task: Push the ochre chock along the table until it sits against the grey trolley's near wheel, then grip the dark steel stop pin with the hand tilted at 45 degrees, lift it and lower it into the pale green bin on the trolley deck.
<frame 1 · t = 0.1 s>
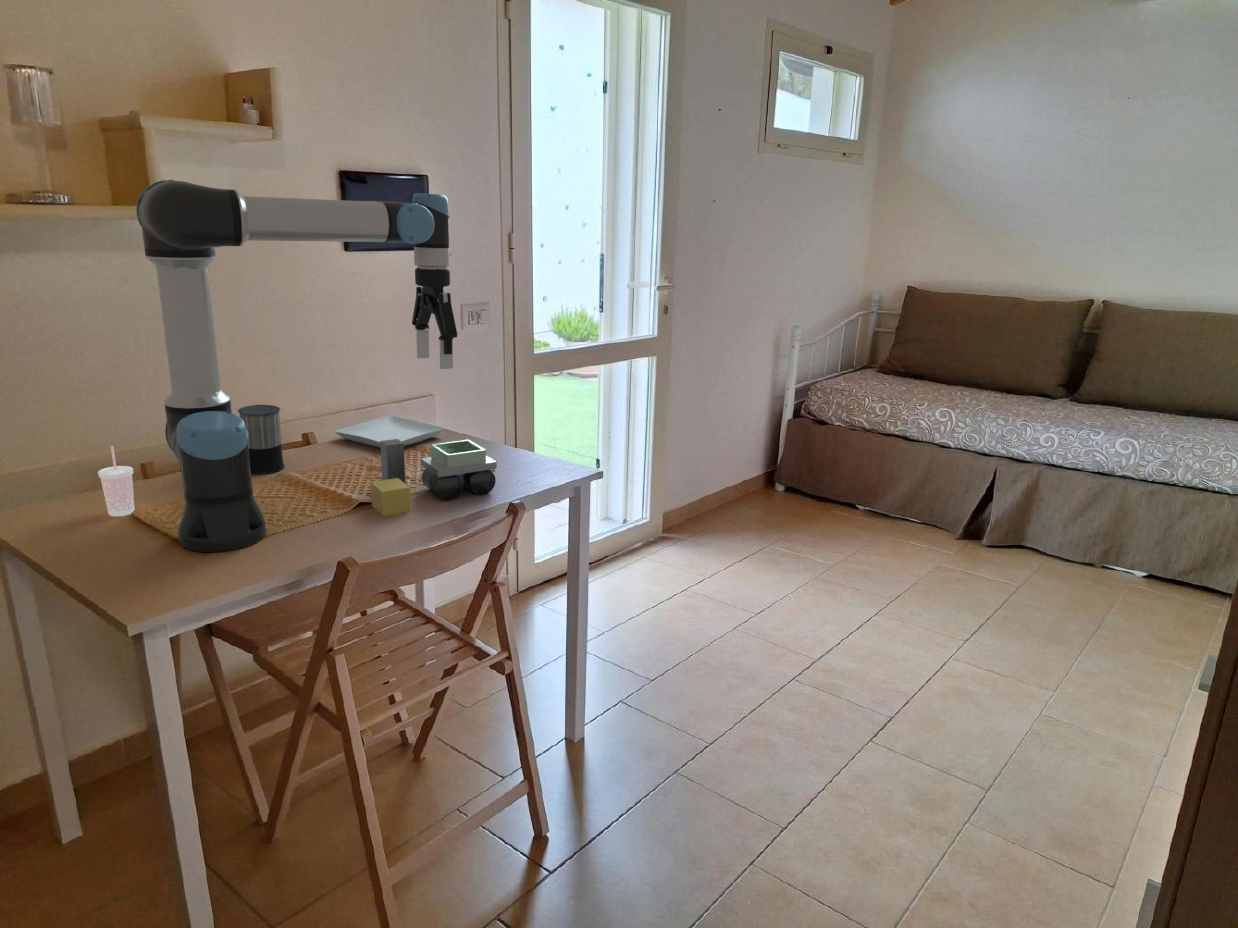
hand: (434, 363, 187), 28 cm above the table, tool pointing down, fingers open, 13 cm apart
stop pin: (393, 488, 189), on the table
beverage cup: (121, 513, 168), on the table
salad plate: (391, 440, 227), on the table
trolley: (459, 491, 188), on the table
milk frother: (245, 471, 196), on the table
chock: (391, 508, 177), on the table
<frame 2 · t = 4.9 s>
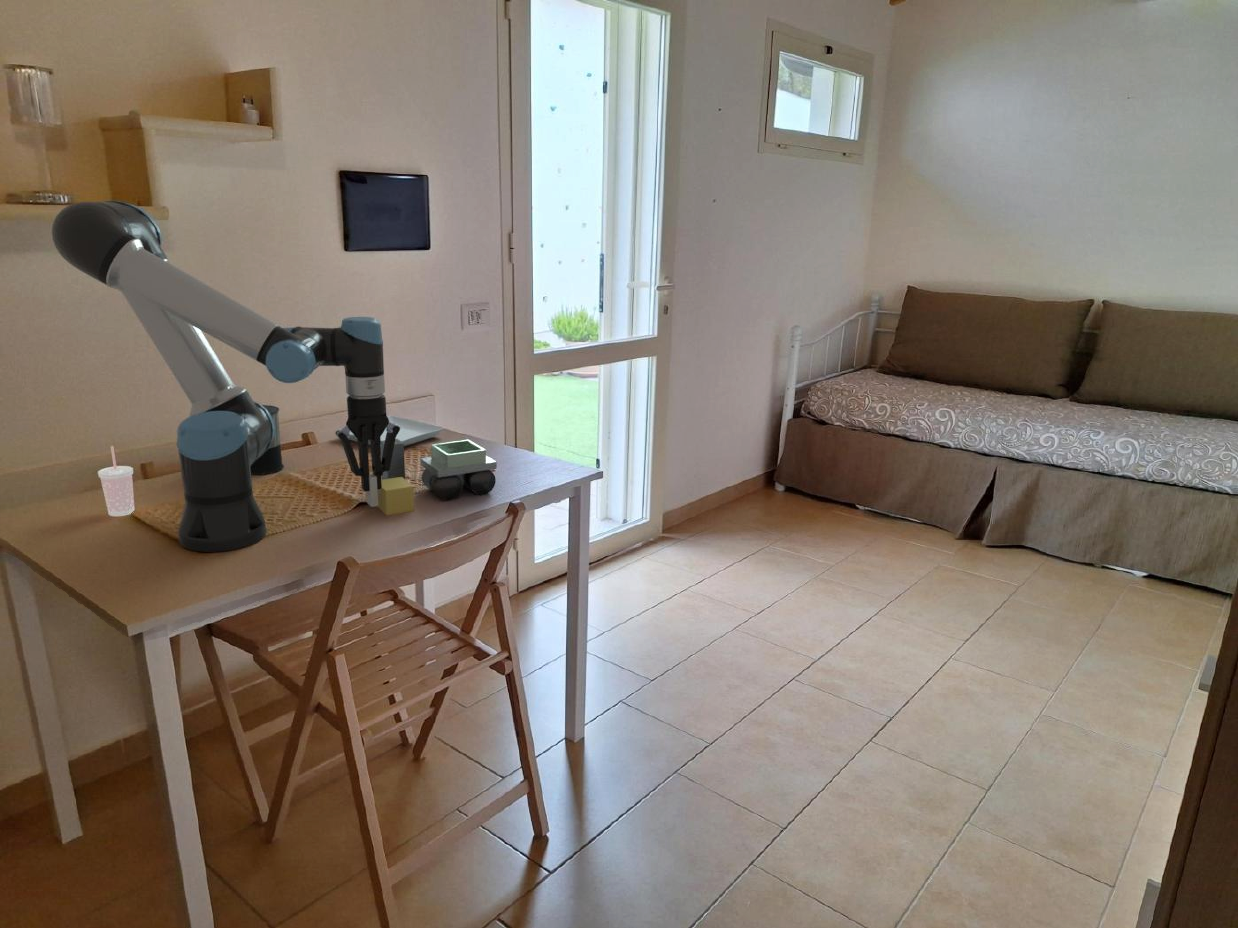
hand: (372, 504, 174), 2 cm above the table, tool pointing down, fingers closed
chock: (394, 507, 177), on the table, touching gripper
everything else where it was.
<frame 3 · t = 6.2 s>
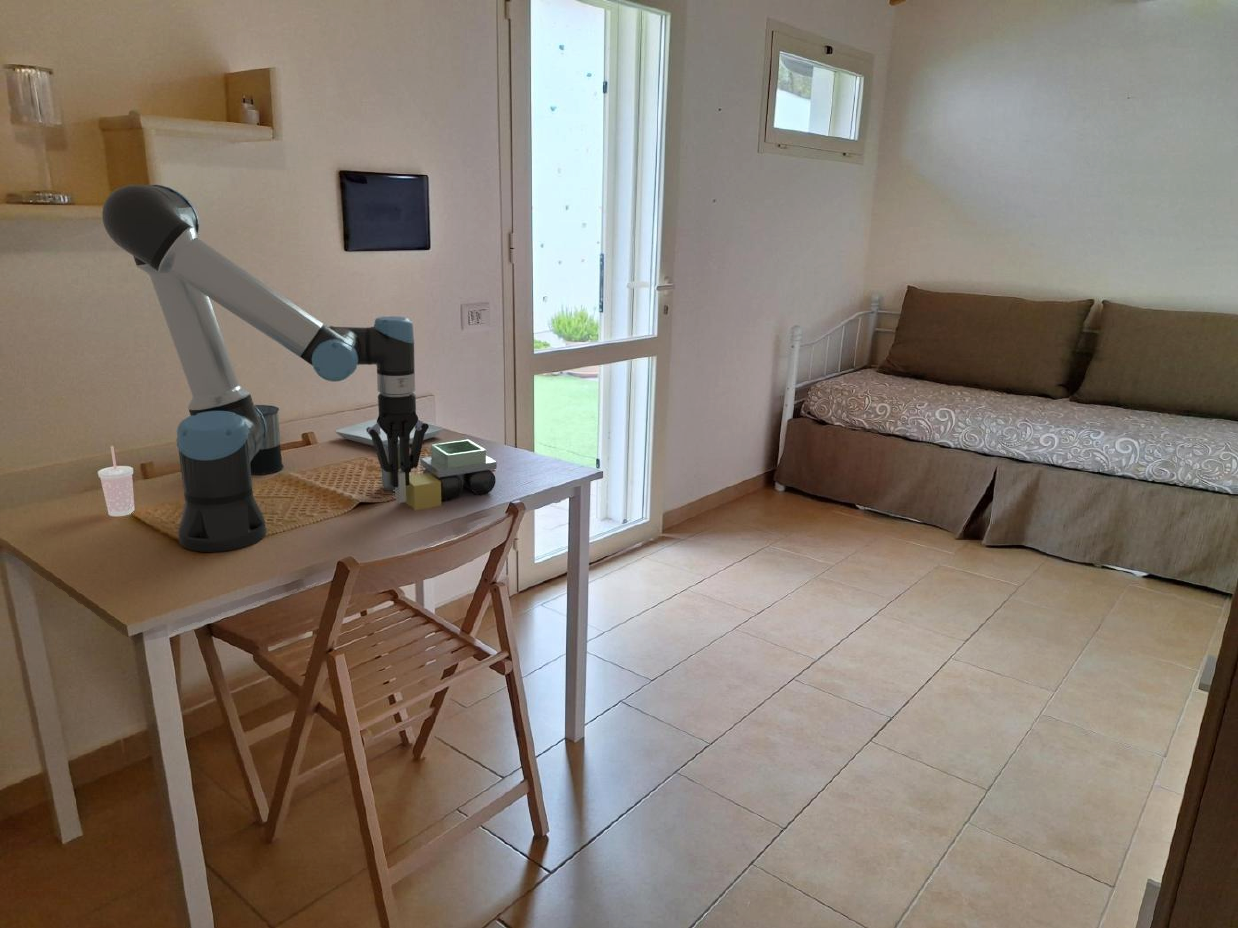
hand: (400, 500, 177), 1 cm above the table, tool pointing down, fingers closed
chock: (422, 502, 181), on the table, touching gripper, trolley
everything else where it was.
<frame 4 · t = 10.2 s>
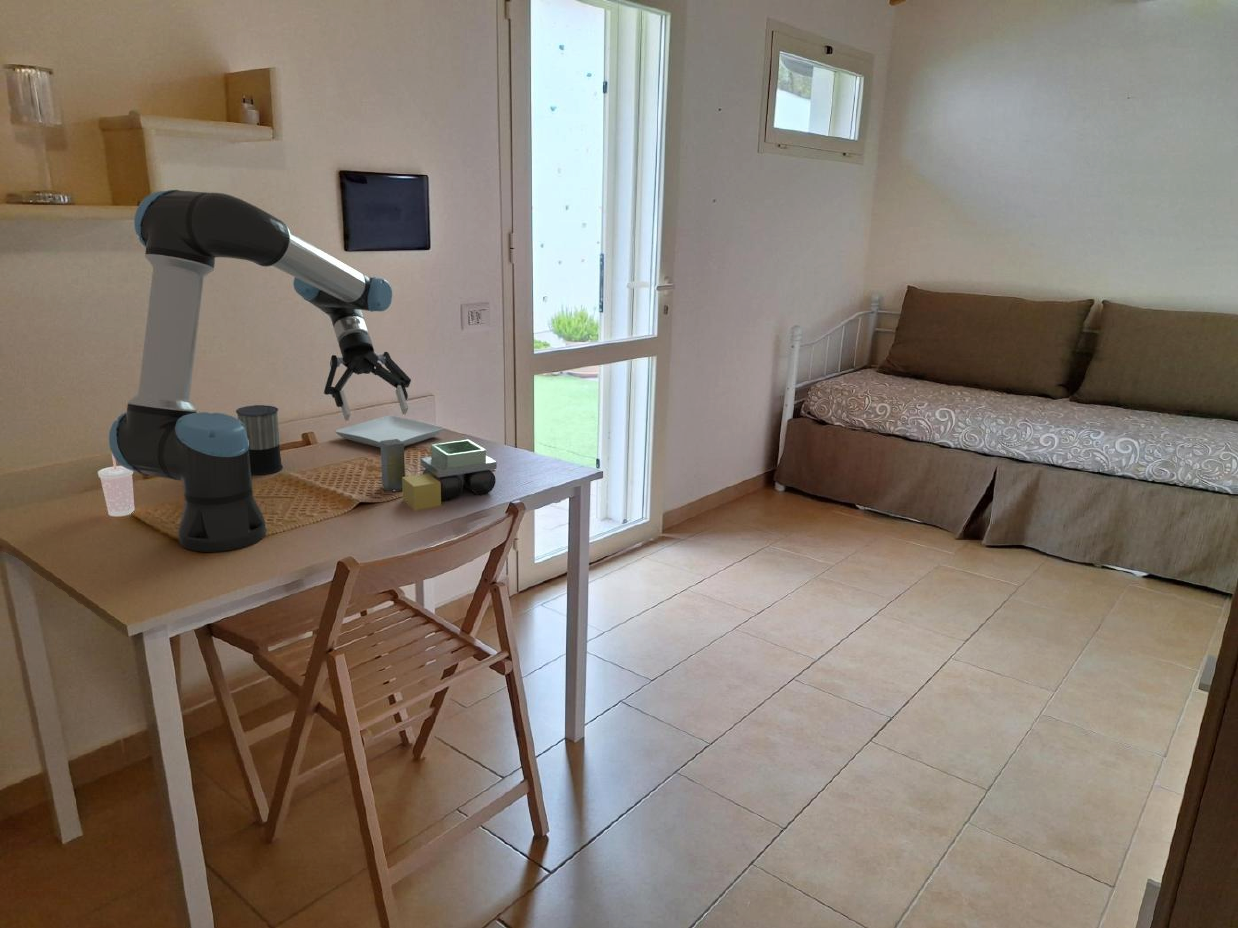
hand: (377, 414, 192), 15 cm above the table, tool tilted 45°, fingers open, 13 cm apart
chock: (421, 503, 181), on the table
everything else where it was.
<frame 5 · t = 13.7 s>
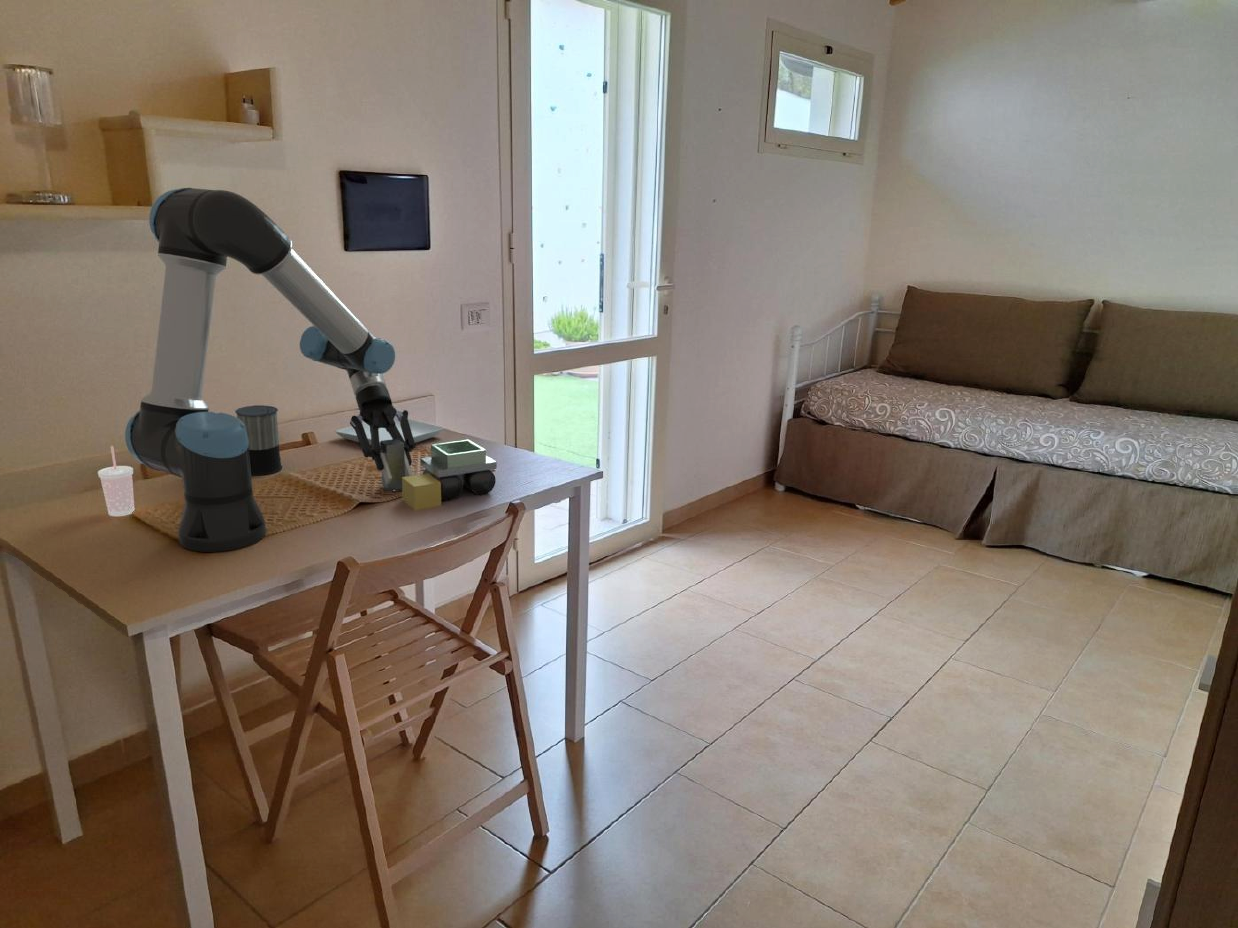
hand: (399, 479, 185), 3 cm above the table, tool tilted 45°, fingers closed on stop pin, 4 cm apart
stop pin: (393, 488, 189), on the table, touching gripper
everything else where it was.
when the fingers open (13 cm above the table, at t = 17.4 s): stop pin drops 2 cm, resting on trolley.
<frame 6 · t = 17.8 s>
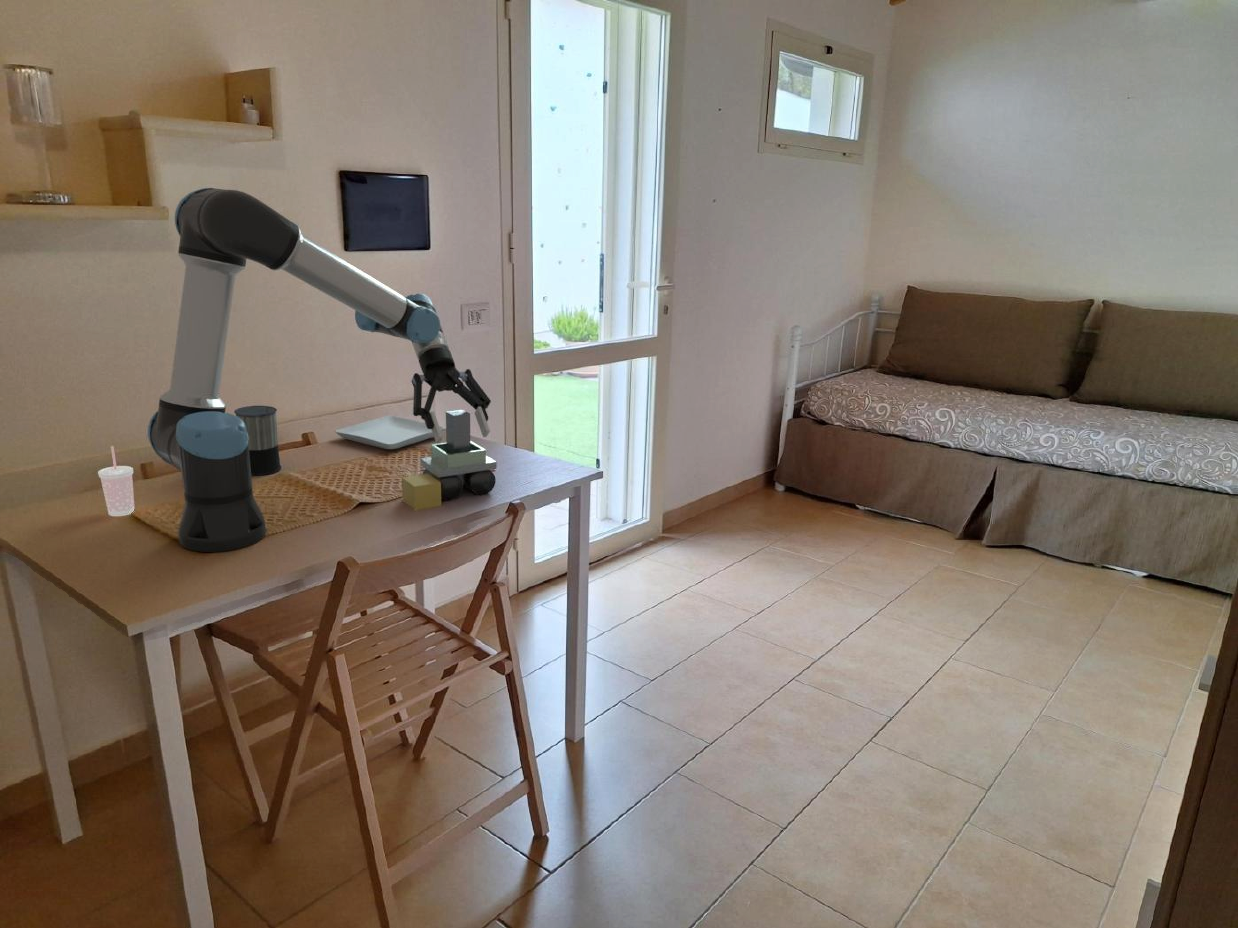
hand: (463, 437, 182), 14 cm above the table, tool tilted 45°, fingers open, 10 cm apart
stop pin: (458, 459, 186), point 8 cm above the table, touching trolley
everything else where it was.
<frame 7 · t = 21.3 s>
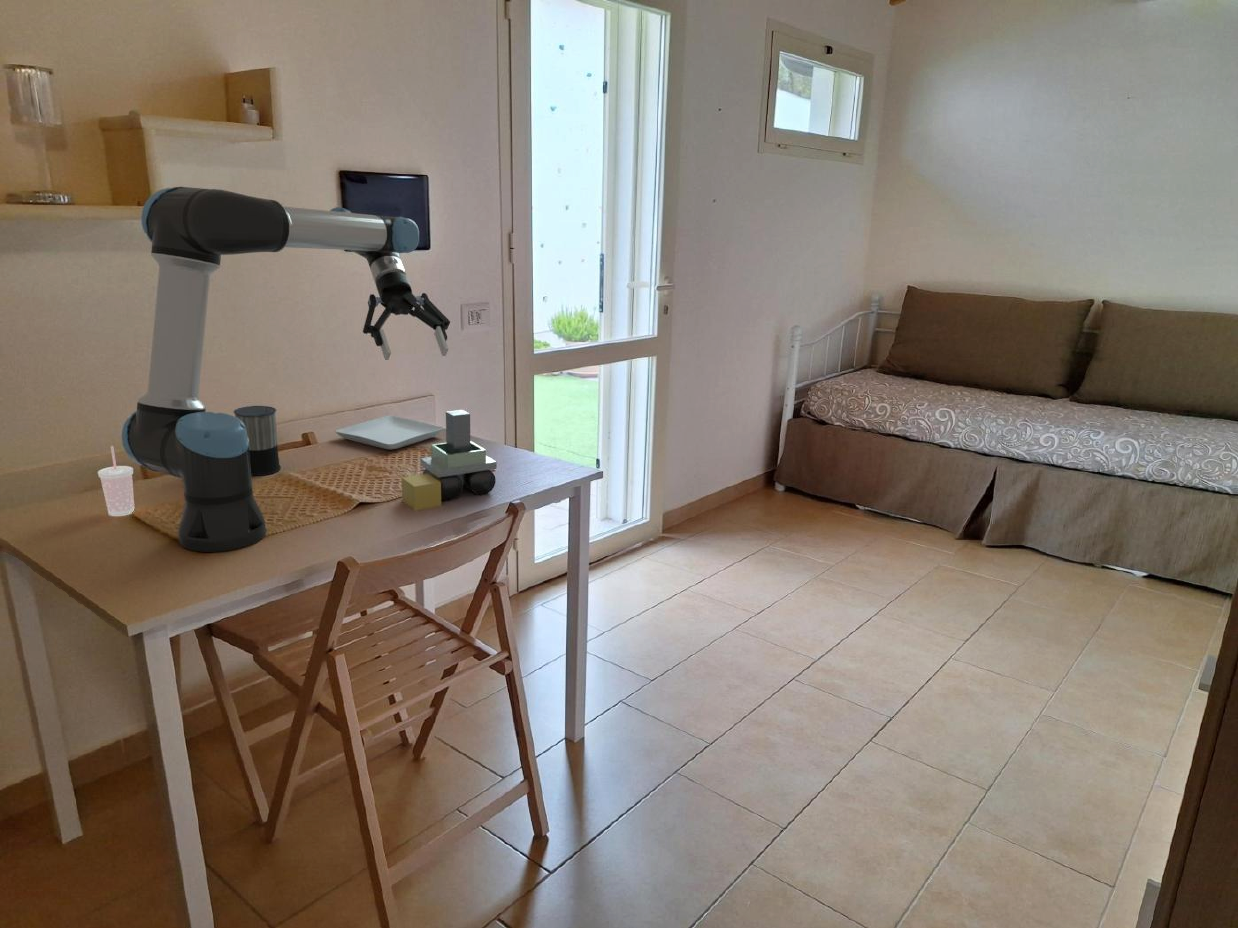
hand: (417, 354, 187), 30 cm above the table, tool tilted 45°, fingers open, 13 cm apart
at the end: stop pin inside the target area on the trolley (0.1 cm from its centre), point 7.6 cm above the trolley's base; chock 0.1 cm from the target spot, on the table; the gripper is holding nothing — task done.
